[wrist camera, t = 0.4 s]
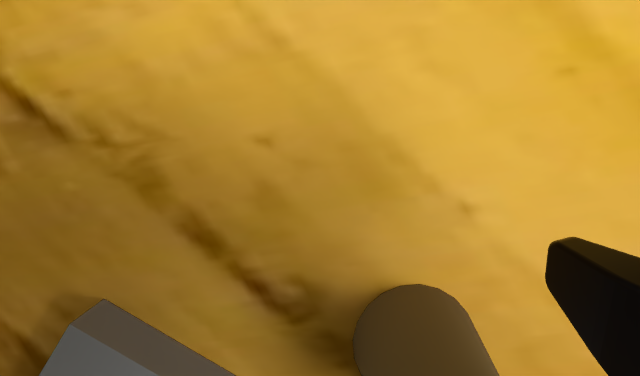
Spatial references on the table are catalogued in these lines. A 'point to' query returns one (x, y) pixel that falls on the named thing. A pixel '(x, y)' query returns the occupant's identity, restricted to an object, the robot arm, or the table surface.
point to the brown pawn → (419, 336)
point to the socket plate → (122, 349)
